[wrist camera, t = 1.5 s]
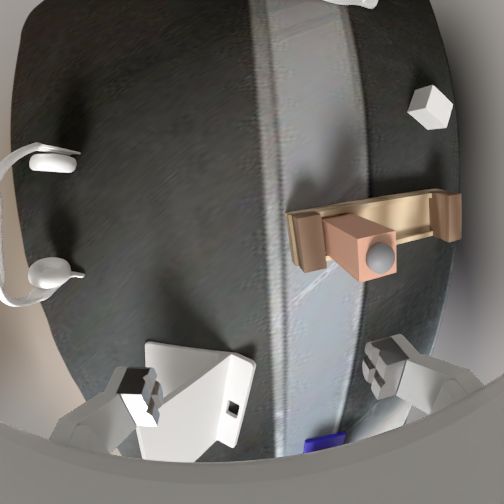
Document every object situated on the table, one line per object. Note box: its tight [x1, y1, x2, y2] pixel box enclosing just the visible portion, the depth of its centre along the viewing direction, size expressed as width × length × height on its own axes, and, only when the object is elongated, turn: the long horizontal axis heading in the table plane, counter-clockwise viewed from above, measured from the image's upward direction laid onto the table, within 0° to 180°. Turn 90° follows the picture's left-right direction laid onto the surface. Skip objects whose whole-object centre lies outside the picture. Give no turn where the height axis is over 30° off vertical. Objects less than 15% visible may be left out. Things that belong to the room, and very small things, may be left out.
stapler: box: [303, 431, 346, 454], centre depth 53 cm, size 12×28×10 cm, turn 4°
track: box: [285, 188, 462, 273], centre depth 36 cm, size 27×7×7 cm, turn 100°
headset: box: [0, 142, 85, 307], centre depth 26 cm, size 20×7×18 cm, turn 169°
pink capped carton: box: [321, 213, 396, 283], centre depth 31 cm, size 5×5×12 cm
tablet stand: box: [136, 341, 256, 462], centre depth 38 cm, size 18×25×17 cm
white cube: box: [407, 85, 453, 130], centre depth 32 cm, size 5×5×5 cm
